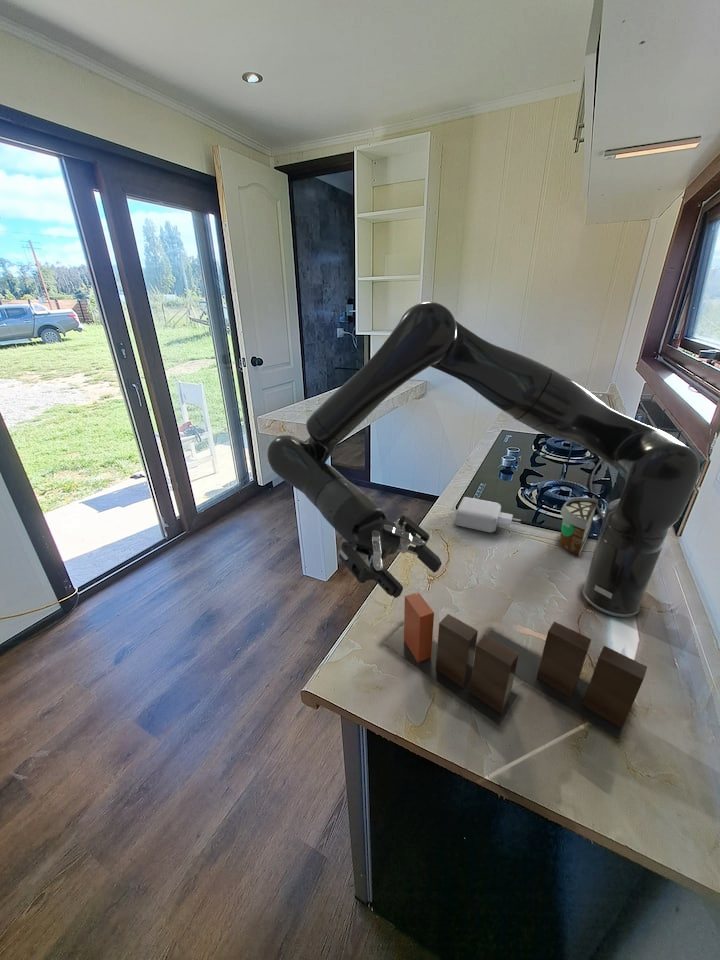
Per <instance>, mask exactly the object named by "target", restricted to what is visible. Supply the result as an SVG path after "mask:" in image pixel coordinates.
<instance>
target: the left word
mask: <svg viewBox="0 0 720 960" xmlns="http://www.w3.org/2000/svg"><path fill="white" fill-rule="evenodd" d="M478 635H479V630H478V629H476V628H474V627H472V626H471V625H469V624H467V623H465V622H463V621H462V620H460V619H458V618H457V617H455V616H453V615H451V614H449V613H447V614H446V615H445V616H444V617H443V619H441V621H439V624H438V635H437V643H436V642H434V641H433V640H432V651H431V658H428V659H426V660H423V661H421V662H417V660H416V659H415V657H414V655H413V654H412V652H411V651H410V649H409V647H408V646H407V644H406V643H405V641H404V623H403V624H402V625H401V626H400V627H398V628H397V629H396V631H394V633H392V635H391V636H389V637H388V638H387V639H386V640H385V641H384V642H383V645H384V646H386V647H387V648H388V649H390V650H392V651H393V652H394V653H395V654H397V655H399V656H400V657H401V658H403V659H404V660H406V661H407V662H408V663H410V664H411V665H413V666H414V667H415V668H417V669H418V670H420V671H421V672H423V673H424V674H425V675H426V676H428V677H429V678H431V679H433V681H435V682H436V683H438V684H439V685H441V686H442V687H444V688H445V689H446V690H448V691H449V692H450V693H452V694H453V695H455V696H456V697H457V698H459V699H460V700H461V701H463V702H465V703H466V704H467V705H469V706H470V707H471V708H473V709H474V710H476V711H478V712H479V713H480V714H481V715H483V716H484V717H485V718H487V719H489V720H490V721H491V722H493V723H494V724H495V725H497V726H499V727H500V726H501V724H502V722H503V720H504V719H505V717H506V715H507V714H508V712H509V711H510V709H511V707H512V705H513V704H514V702H515V700H516V699H517V697H518V694H516V693H514V692H512V688H513V684H514V679H515V675H514V674H515V670H516V665H517V660H518V655H519V654H518V653H516V652H514V651H512V650H511V649H509V648H507V647H505V646H504V645H502V644H500V643H498V642H497V641H495V640H493V639H491V638H490V637H488V636H487V635H486V634H483V636H482V637H481V639H480V640H478ZM477 640H478V642H477Z"/></svg>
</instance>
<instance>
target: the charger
mask: <svg viewBox="0 0 720 960" xmlns="http://www.w3.org/2000/svg"><path fill="white" fill-rule="evenodd" d="M501 509H502V505H501V503H498V502H494V501H489V500H485V499H479V498H473V497H468V496H463V498H462V500H461V501H460V503H459V505H458V508H457V510H456V513H455V515H456V516H455V526H458V527H463V528H467V529H472V530H476V531H482V532H486V533H490V534H491V533H493V532H495V531H496V530H497V527H498V526H502V527H506V528H511V525H512V524H513V525H519V526H520V525H521V521H522V520H521V518H514V515H513V514H511V513H506V512H503V511H502V510H501Z"/></svg>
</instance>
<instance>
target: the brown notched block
mask: <svg viewBox="0 0 720 960" xmlns="http://www.w3.org/2000/svg"><path fill="white" fill-rule="evenodd" d="M486 636H488V637H490V638H491V639H493V640H495V641H497V642H498V643H500V644H502V645H504V646H505V647H507V648H509V649H511V650H512V651H514V652H516V653H518V654H519V655H518V660H517V665H516V670H515V674H514V677H516V678H518V679H520V680H522V681H523V682H524V683H526V684H528V685H530V686H531V687H532V688H535V689H536V690H538V691H539V692H542V694H544V695H546V696H548V697H549V698H551V699H553V700H554V701H556V702H557V703H559V704H561V705H563V706H564V707H566V708H567V709H569V710H571V711H572V712H574V713H576V714H577V715H579V716H581V717H582V718H584V719H586V720H587V721H588V723H590V724H592V725H593V726H595V727H596V728H598V729H600V730H601V731H604V732H605V733H606V734H608V735H610V736H611V737H613V738H615V740H617V741H618V740H620V737H621V734H622V731H623V728H624V726H625V724H626V722H627V720H628V719H627V718H628V717H629V714H630V712H631V709H632V707H633V705H634V703H635V700H636V698H637V695H638V694H639V691H640V690H641V689H640V688H641V686H642V684H643V681H644V679H645V676H646V673H647V670H648V666H647V665H645V664H643V663H642V662H639V661H637V660H635V659H632V658H630V657H629V656H626V655H624V654H622V653H620V652H618V651H616V650H614V649H612V648H610V647H609V646H606V645H603V647H602V649H601V651H600V653H599V655H598V657H597V661H596V662H595V667H594V669H593V673H592V675H591V678H590V681H589V682H586V681H585V680H583V679H581V674H582V670H583V668H584V664H585V662H586V660H587V659H586V658H587V655H588V652H589V649H590V646H591V642H592V639H591V638H590V637H588V636H585V635H583V634H582V633H580V632H577V631H575V630H573V629H571V628H569V627H568V626H565V625H563V624H561V623H559V622H556V621H553V623H552V624H551V626H550V628H549V629H548V631H547V634H546V638H545V641H544V646H543V650H542V655H541V656H540V655H538V654H536V653H534V652H533V651H530V650H529V649H527V648H526V647H524V646H521V645H520V644H518V643H516V642H514V641H512V640H511V639H509V638H507V637H505V636H503V635H501V634H500V633H498V632H496V631H494V630H493V629H491V630H490V631H489V632H488V634H487V635H486Z"/></svg>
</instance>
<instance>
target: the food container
mask: <svg viewBox="0 0 720 960" xmlns="http://www.w3.org/2000/svg"><path fill="white" fill-rule="evenodd" d="M594 498H595V497H594ZM594 498H591V497H583V496H582V497H579V496H578V497H573V498H570V499H568V500H566V502H565V503H564V504H563V505H562V507H561V509H560V515H561V517H562V521H561V528H560V529H561V530H560V537H559V544H560V546H561V547H562V549H563V550H565V551H566V552H568V553H570V554H572V555H574V556H576V557H579V556H580V554H581V552H582V550H583V548H584V546H585V544H586V542H587V540H588V538H589V535H590V530H591V528H592V524H593V521H594V517H595V514H596V511H597V510H596V507H597V505H598V504H599V499H598V498H595V499H594Z"/></svg>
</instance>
